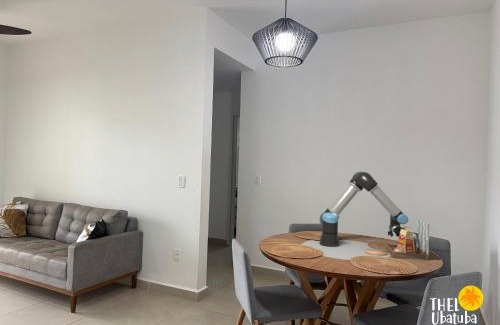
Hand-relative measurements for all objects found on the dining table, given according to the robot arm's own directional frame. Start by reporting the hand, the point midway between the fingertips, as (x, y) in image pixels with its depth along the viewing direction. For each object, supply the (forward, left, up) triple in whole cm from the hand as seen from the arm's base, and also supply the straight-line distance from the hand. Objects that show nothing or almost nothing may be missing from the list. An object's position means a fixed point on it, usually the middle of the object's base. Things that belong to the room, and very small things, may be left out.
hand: (405, 236), depth 242 cm
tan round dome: (+4, -20, -12) cm, 24 cm away
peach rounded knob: (+10, -7, -12) cm, 17 cm away
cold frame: (+2, 0, -12) cm, 12 cm away
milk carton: (+2, 0, -12) cm, 12 cm away
